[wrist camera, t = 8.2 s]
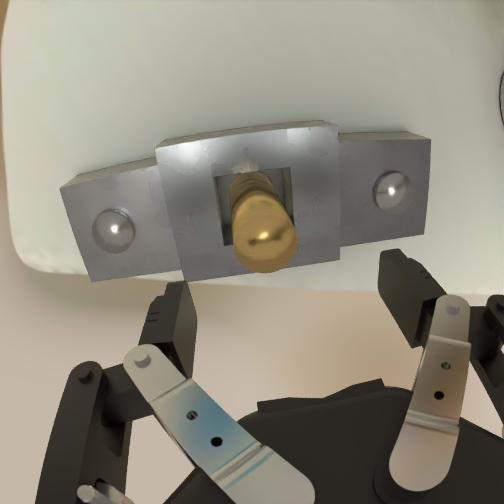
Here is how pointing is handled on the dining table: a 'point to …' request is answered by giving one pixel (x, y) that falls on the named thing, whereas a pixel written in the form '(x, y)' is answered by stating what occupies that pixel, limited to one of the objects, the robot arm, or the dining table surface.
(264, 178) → the pin
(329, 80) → the dining table surface
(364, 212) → the grey block with hole
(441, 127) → the dining table surface
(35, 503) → the robot arm
